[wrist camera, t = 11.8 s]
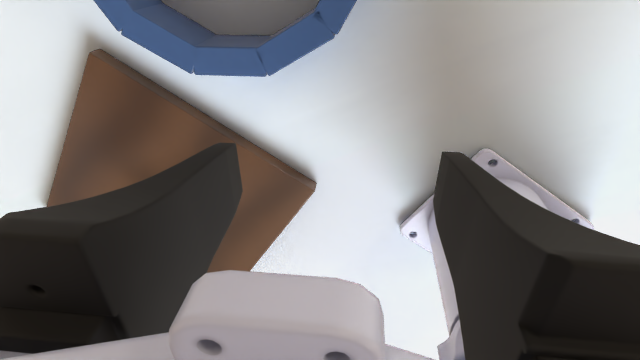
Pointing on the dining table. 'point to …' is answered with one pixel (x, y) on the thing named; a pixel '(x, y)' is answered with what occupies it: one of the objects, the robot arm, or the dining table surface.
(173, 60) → the blue ring
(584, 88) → the dining table surface
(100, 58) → the platform
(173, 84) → the dining table surface
